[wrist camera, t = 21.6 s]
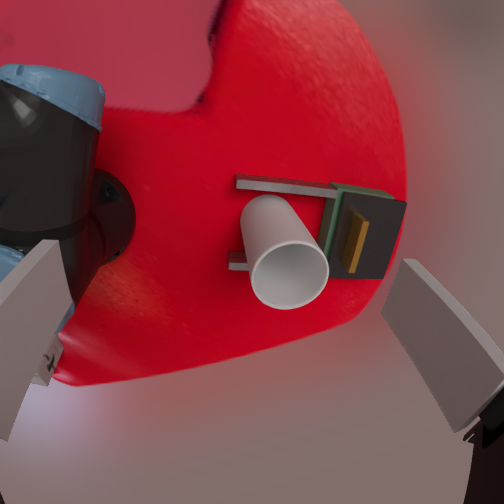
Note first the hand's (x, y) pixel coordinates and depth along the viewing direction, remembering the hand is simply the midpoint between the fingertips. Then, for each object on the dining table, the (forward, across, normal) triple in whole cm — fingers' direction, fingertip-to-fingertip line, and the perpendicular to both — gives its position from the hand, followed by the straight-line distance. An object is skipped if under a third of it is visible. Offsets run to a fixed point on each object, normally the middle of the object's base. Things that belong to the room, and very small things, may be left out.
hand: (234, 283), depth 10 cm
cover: (+28, +22, -10) cm, 37 cm away
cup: (+32, +7, -10) cm, 34 cm away
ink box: (+32, -38, -40) cm, 64 cm away
